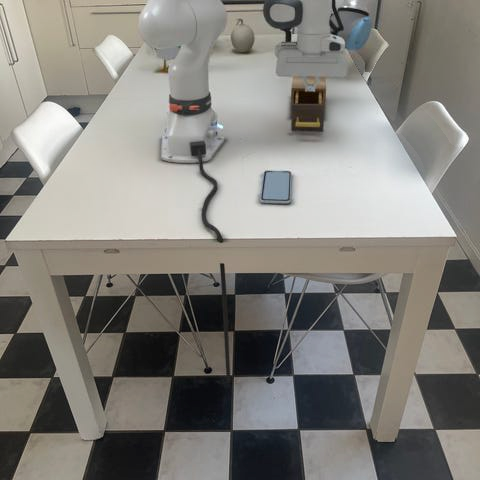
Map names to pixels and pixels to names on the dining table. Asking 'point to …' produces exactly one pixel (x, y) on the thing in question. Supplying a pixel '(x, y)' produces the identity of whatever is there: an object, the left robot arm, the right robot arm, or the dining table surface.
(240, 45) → the fruit
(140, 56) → the dining table surface
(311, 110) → the drawer
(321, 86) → the open wooden box
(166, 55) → the toy
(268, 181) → the smartphone
